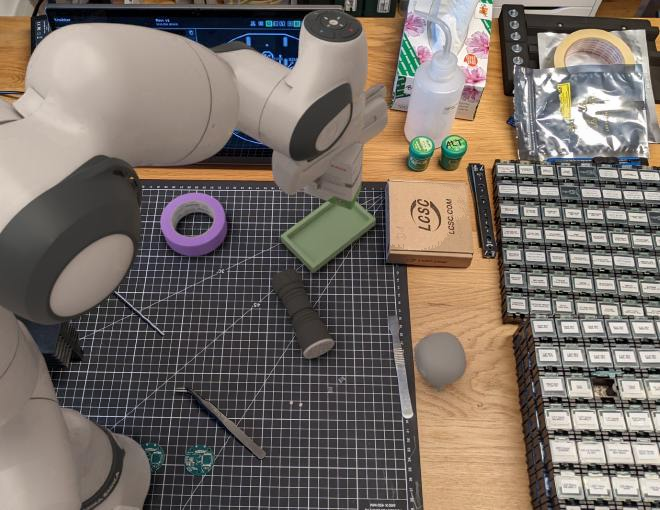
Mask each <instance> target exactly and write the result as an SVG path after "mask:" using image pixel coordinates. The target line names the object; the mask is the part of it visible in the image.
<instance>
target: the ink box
mask: <svg viewBox="0 0 660 510" xmlns="http://www.w3.org/2000/svg"><path fill="white" fill-rule="evenodd" d="M363 160H364V146H363V144H360V143H357V142H356V143H355V144H353V145H352V146H350V147H349V148H347V149H346V150H344V151H343V152H341V153H340V154H338V155H337V156H335V157H334V158H333V159H332V161H331V169H329V170H328V171H326V172H325V173H324V174H322V175H321V176H319V177H318V178H317V179H320V180H321V181H322V184H321V185H322V187H320V188H319V189H318V190H316V191H315V192H313V191H312V190H311V189H310V188H309V187H308V185H307V186H305V187H304V188H303V190H304V192H303V193H305V194H306V195H309V196H311V197H315V198H318V199H320V200H322V201H325V202H326V201H328V202H331V203H334V204H336V205H339V206H342V207H344V208H347V209H350V210H352V208H353V206H354V204H355V202H357V200H358V198H359V196H360V193H361V191H362V180H363V164H364V162H363Z"/></svg>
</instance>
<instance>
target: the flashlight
mask: <svg viewBox="0 0 660 510" xmlns="http://www.w3.org/2000/svg"><path fill="white" fill-rule="evenodd" d="M271 282H272V283H271V284H272V286H271V287H272V289H273V291H274V293H275V296H277V297H278V298H279V300H280V301H281V304H282V305H283V308H285V310H286V312H287V314H288V317H289V318H290V320H291V321H292V323H291V328H292V330H293V332H294V334H295V336H296V337H295V338H296V342H297V344H298V346H299V349H300V351H301V353H302V355H303V358H305V359H308V360H309V359H314V358H317V357H321V356H322V355H324V354H326V353H327V352H329V351H330V350H331V349H332V348H334V346H335V341H334V339H333V337H332V335H331V333H330V331H329V329H328V327H327V326H326V325H325V323H323V321H322V318H321V316H320V314H319V312H317V311H314V310H315V309H314V307H313V305H312V302H311V301H310V299H309V294H308V292H307V290H306V288H305V285H304V284H305V281H304V280H303V277H302V275H301V274H300V272H298V271H297V270H296V269H295V268H286V269H283V270H280V271H279V272H278V273H276V274H275V275H274V276H273V277H272V279H271Z"/></svg>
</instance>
